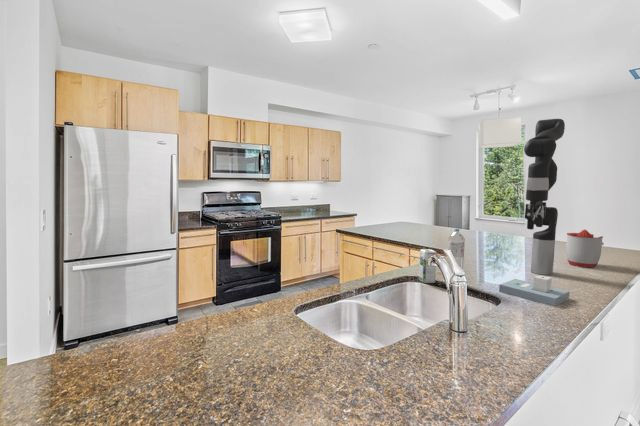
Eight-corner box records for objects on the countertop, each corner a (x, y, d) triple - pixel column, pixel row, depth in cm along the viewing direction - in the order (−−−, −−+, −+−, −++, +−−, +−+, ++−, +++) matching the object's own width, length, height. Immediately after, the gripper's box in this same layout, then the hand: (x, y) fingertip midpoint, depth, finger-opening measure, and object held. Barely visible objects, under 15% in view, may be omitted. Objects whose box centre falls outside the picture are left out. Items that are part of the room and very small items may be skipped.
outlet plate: (514, 285, 145) (515, 278, 145) (568, 298, 129) (569, 290, 128) (499, 291, 137) (499, 283, 136) (554, 306, 121) (555, 297, 120)
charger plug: (537, 294, 134) (538, 274, 133) (550, 297, 130) (551, 277, 129) (532, 296, 131) (533, 276, 130) (545, 300, 127) (547, 279, 126)
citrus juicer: (611, 269, 173) (615, 231, 171) (578, 269, 173) (581, 231, 171) (588, 262, 188) (591, 227, 186) (557, 261, 189) (560, 227, 187)
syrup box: (418, 279, 153) (419, 249, 152) (430, 279, 153) (431, 248, 152) (423, 283, 147) (424, 251, 146) (435, 283, 148) (437, 251, 146)
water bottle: (455, 287, 141) (458, 230, 139) (442, 283, 147) (445, 228, 145) (466, 285, 144) (469, 229, 142) (453, 281, 150) (455, 227, 148)
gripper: (534, 188, 141) (531, 225, 143) (519, 189, 133) (517, 228, 135) (554, 188, 135) (551, 227, 137) (540, 189, 127) (537, 231, 129)
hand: (534, 228), depth 136 cm, fingers open, 8 cm apart
